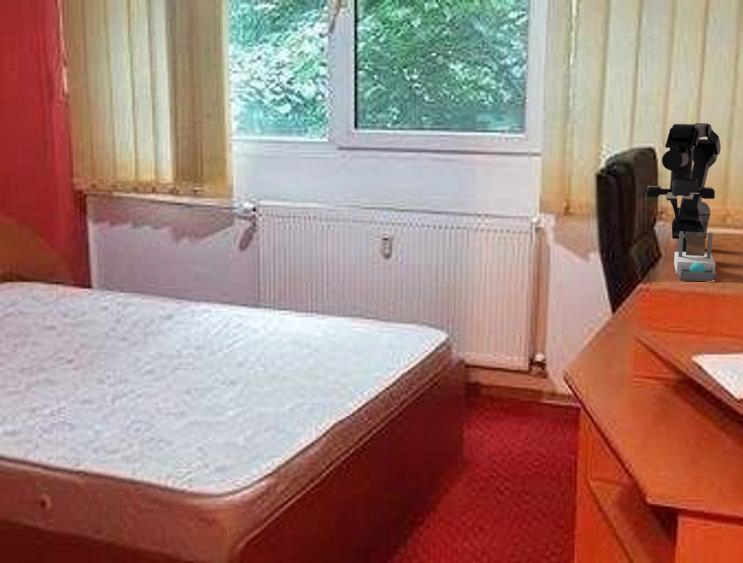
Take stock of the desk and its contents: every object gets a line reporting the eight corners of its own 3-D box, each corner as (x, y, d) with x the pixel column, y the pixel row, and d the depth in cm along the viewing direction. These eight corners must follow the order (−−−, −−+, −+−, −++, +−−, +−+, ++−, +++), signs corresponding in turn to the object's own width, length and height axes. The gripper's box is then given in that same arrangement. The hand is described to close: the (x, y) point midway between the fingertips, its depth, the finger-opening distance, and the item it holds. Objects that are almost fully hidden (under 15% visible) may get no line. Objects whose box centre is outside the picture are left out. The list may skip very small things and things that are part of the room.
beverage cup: (709, 251, 298) (714, 188, 294) (685, 250, 299) (690, 188, 295) (706, 247, 305) (711, 186, 301) (683, 246, 306) (687, 186, 302)
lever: (683, 257, 271) (684, 234, 272) (703, 258, 269) (704, 235, 270) (684, 254, 266) (686, 231, 267) (705, 255, 264) (706, 231, 265)
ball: (688, 276, 257) (689, 261, 257) (704, 276, 256) (705, 262, 256) (689, 277, 254) (690, 262, 253) (705, 278, 252) (706, 263, 252)
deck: (674, 263, 278) (676, 227, 275) (709, 264, 275) (712, 229, 273) (676, 274, 262) (679, 236, 259) (714, 276, 259) (717, 238, 257)
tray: (678, 274, 261) (679, 265, 261) (712, 276, 259) (713, 267, 258) (680, 280, 253) (680, 271, 252) (715, 282, 250) (716, 273, 250)
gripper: (648, 169, 263) (644, 224, 266) (718, 171, 258) (714, 227, 261) (647, 166, 273) (644, 219, 276) (715, 168, 268) (710, 221, 272)
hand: (677, 221), depth 271 cm, fingers closed
